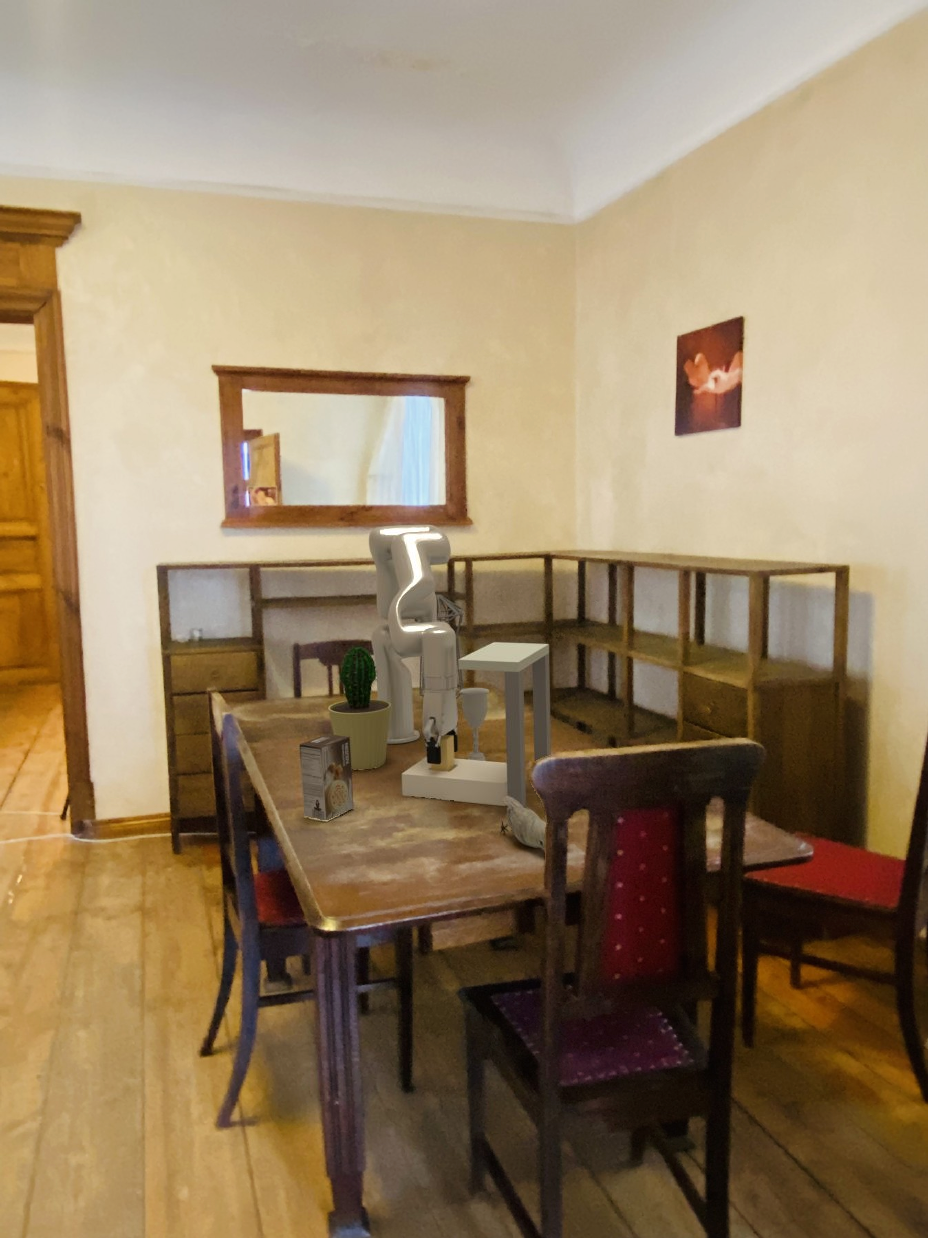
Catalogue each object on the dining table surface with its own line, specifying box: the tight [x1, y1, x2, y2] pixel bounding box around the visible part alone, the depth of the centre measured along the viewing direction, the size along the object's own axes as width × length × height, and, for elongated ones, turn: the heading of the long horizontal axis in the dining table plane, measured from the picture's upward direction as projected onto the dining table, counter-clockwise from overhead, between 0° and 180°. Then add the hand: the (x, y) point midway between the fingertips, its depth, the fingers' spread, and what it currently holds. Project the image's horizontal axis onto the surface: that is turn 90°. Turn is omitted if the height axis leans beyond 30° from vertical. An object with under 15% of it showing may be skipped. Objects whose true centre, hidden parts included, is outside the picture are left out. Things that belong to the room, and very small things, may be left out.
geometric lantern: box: [413, 594, 464, 699], centre depth 285 cm, size 16×16×35 cm
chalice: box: [459, 687, 490, 761], centre depth 225 cm, size 7×7×18 cm
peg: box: [431, 735, 455, 772], centre depth 206 cm, size 4×4×12 cm
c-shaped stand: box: [458, 641, 552, 807], centre depth 199 cm, size 13×22×32 cm, turn 159°
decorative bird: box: [499, 796, 547, 853], centre depth 172 cm, size 5×16×8 cm, turn 28°
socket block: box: [401, 756, 508, 807], centre depth 204 cm, size 24×14×5 cm, turn 69°
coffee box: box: [299, 733, 355, 820], centre depth 191 cm, size 9×6×16 cm
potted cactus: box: [327, 646, 391, 770], centre depth 225 cm, size 15×15×30 cm
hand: (442, 757), depth 205 cm, fingers open, 9 cm apart
